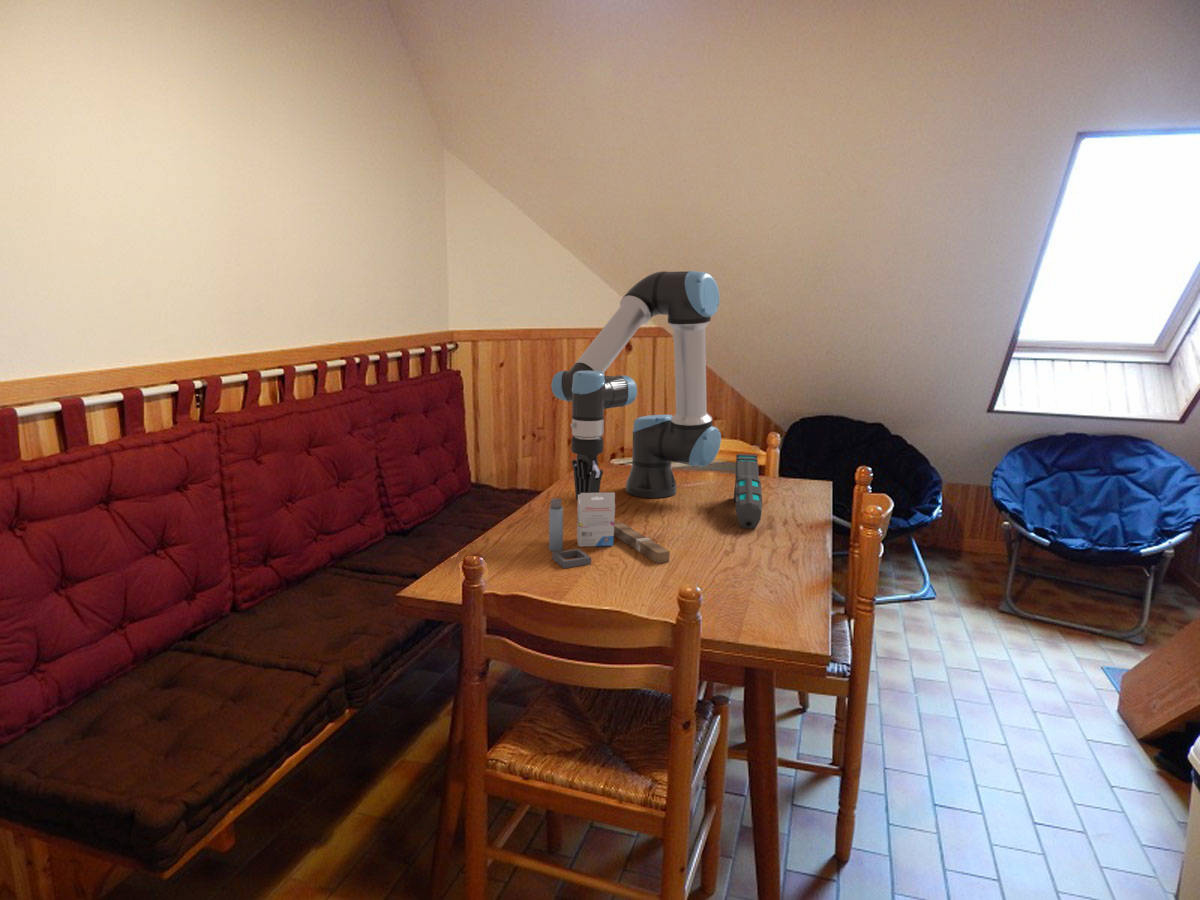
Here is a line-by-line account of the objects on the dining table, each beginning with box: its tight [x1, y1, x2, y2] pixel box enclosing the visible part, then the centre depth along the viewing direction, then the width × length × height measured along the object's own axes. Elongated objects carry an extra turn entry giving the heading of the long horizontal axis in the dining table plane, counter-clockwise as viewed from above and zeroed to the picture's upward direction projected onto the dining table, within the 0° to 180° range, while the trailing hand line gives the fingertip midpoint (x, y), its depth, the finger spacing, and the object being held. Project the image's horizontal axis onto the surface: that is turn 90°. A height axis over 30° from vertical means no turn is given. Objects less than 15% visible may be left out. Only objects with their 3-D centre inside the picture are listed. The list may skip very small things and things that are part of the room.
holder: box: [551, 548, 592, 569], centre depth 172 cm, size 7×7×2 cm
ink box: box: [576, 492, 616, 547], centre depth 181 cm, size 8×5×15 cm, turn 96°
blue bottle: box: [548, 497, 564, 552], centre depth 179 cm, size 3×3×12 cm
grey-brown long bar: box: [613, 521, 670, 565], centre depth 182 cm, size 24×3×3 cm, turn 26°
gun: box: [733, 453, 763, 530], centre depth 210 cm, size 7×29×15 cm, turn 172°
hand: (586, 531), depth 187 cm, fingers closed
